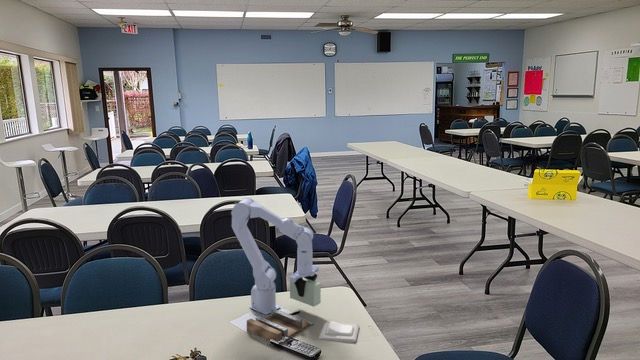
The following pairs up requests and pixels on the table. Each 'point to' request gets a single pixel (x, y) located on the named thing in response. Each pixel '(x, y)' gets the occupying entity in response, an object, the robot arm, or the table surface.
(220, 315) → the table surface
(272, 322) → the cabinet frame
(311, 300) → the pale green foam block
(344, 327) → the light switch
